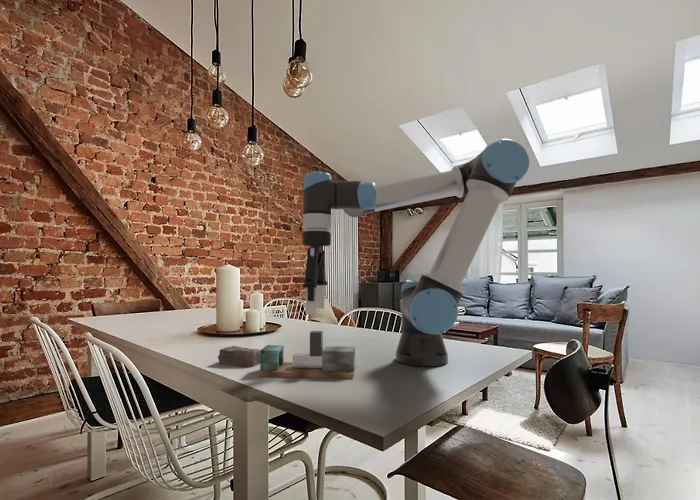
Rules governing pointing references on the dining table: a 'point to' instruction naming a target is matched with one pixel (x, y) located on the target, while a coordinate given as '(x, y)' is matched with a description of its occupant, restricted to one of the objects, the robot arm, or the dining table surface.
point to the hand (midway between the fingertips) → (315, 311)
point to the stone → (239, 356)
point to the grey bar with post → (311, 353)
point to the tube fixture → (333, 366)
